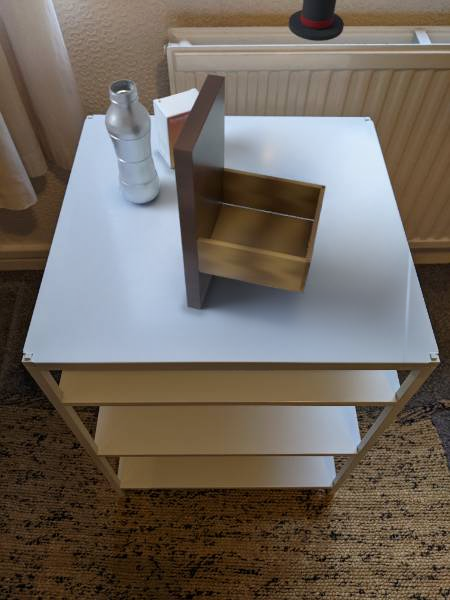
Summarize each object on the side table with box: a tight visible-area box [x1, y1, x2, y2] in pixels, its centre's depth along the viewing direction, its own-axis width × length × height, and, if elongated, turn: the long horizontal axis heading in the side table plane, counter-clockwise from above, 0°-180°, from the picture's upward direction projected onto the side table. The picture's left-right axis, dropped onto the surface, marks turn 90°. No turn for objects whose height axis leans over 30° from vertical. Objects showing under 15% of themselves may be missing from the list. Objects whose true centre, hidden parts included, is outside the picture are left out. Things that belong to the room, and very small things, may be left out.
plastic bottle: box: [104, 78, 161, 204], centre depth 77 cm, size 6×7×20 cm
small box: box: [152, 87, 200, 169], centre depth 87 cm, size 8×6×10 cm
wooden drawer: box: [173, 73, 327, 310], centre depth 63 cm, size 16×13×28 cm
